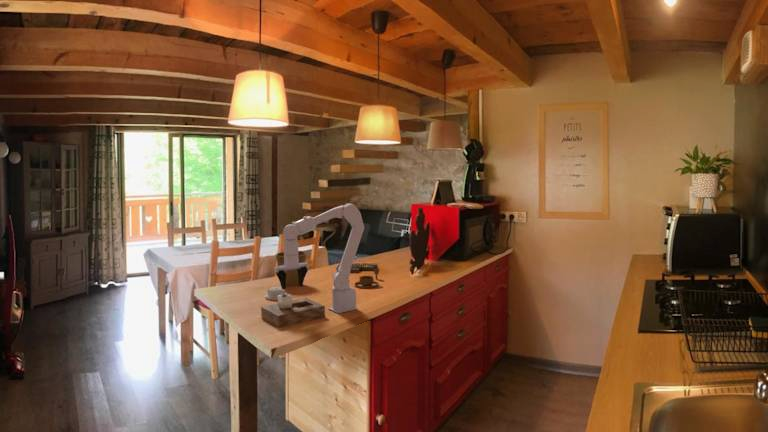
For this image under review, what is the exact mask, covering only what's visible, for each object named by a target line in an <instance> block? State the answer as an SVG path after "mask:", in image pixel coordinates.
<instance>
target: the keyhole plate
mask: <svg viewBox="0 0 768 432" xmlns="http://www.w3.org/2000/svg"><path fill="white" fill-rule="evenodd" d="M325 307H326V305H324V304H321V303H319V302H317V301H315V300H312V299H310V298H308V297H303V298H298V299H294V300H293V299H292V307H290V308H289V309H285V310H283V309H282V308H280V307H278V303H274V304H273V303H272V304H268V305H263V306H261V307H260V311H261V312H260V313H261V319H263V320H265V321H266V322H268V323H270V324H271V325H274V326H276V327H278V328H282V327H286V326H290V325H295V324H299V323H304V322H308V321H312V320H316V319H321V318H325V316H326V308H325Z"/></svg>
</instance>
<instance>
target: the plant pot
mask: <svg viewBox="0 0 768 432" xmlns="http://www.w3.org/2000/svg"><path fill="white" fill-rule="evenodd" d="M298 256H299V263H305V262H306V258H307V253H306V252H305V251H301V250H298ZM275 257H276V262H277V263H276V264H277V267H278V266H282V265H284V251H281V252H278V253H276V254H275ZM284 272H285V273H286V287H297V286H299V283H298V272H297V269H294V270H287V271H284Z"/></svg>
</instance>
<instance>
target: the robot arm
mask: <svg viewBox="0 0 768 432" xmlns="http://www.w3.org/2000/svg"><path fill="white" fill-rule="evenodd" d="M334 218H335V219H336V218H337V219H343V218H344V219H345V220H347V222H348V223H349V225H350V226H351V230H350V233H349V236H348V239H347V243H346V244H345V245H346V246H345V248H344V252H343V254H342V257H341V261H340V264H339V265H338V268H337V270H336V271H335V272H334V273H333V275H332V281H333V286H332V288H331V290H332V294H331V295H332V307H328V310H330V311H332V312H334V313H337V314H342V313H347V312H351V311H354V310H357V309H358V307H357V292H356V289H355V288H354V287H352V286H349V285H350V275H351V270H352V267H353V266H352V265H353V263H354V260H355V257H356V254H357V251H358V249H359V245H360V242H361V239H362V237H363V233H364V231H365V224H364V221H363V218H362V213H361V212H360V209H358V207H357V206H356V205H355V204H353V203H351V202H350V203H349V202H348V203H345V204H344V205H343V204H342V205H338V206H336V207H333V208H331V209H329V210H327V211H325V212H322V213H321V214H320V213H319V215H316V216H314V217H313V216H310V215H308V216H307V215H305V216H303V217H302V218H301V219H299V220H297V221H292V222H291V224H287V225H285V227H284V228H283V229H282V230H283V231H282V235H283V252H284V265H282V266H278V265H277V266H274V267H273V272H274V273H275V274H276V276H277V278H278V280H279V283H280V287H282V289H285V290H287V289H286V287H287V286H286V273H285V272H284V271H287V270H294V269H297V272H298V283H299V285H298V286H299V287H304V286H303V285H304V280H305V277H306V275H307V273H308V271H309V269H308V268H309V262H306V261H305V263H299V256H298V251H299V242H298V236H302V235H305V234H307V233H308V232H311V231H314V230H315V229H316V227H317V226H318V225H319V224H322V223H324V222H327V221H329V220H333V219H334Z"/></svg>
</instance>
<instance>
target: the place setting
mask: <svg viewBox="0 0 768 432" xmlns="http://www.w3.org/2000/svg"><path fill="white" fill-rule="evenodd" d="M373 272H374V275H375V280H378V275H379V273H380V271H379V268H375V269H374V270H373ZM354 287H355V288H357V289H364V290H365V289H372V290H377V289H382V288H383V286H382V285H381V286H379V282H378V281H374V277H373V276H372V275H363V276H360V277H359V280H358V281H356V282H354Z"/></svg>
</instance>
